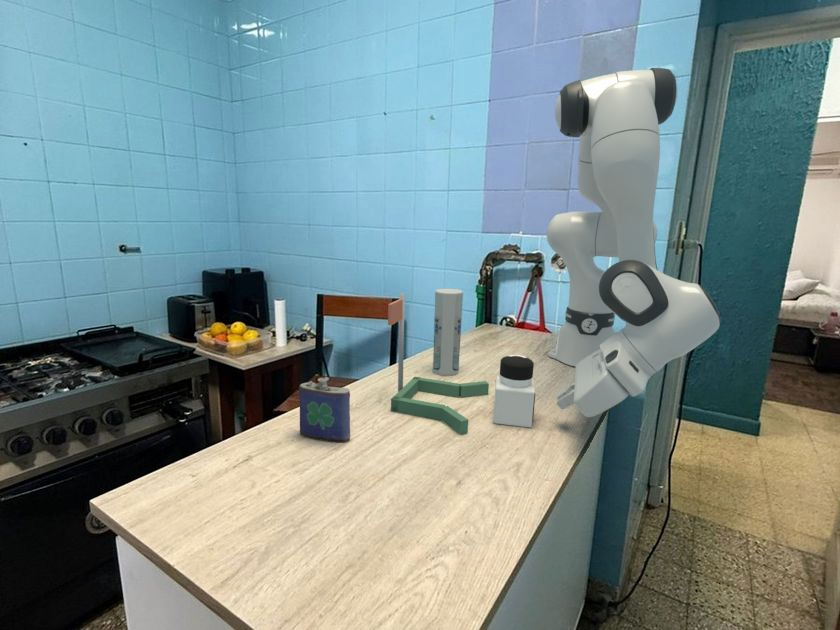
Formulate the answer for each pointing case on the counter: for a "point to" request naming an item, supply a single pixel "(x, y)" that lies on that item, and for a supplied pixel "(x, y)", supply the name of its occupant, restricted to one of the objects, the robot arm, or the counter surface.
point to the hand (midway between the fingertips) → (559, 403)
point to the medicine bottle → (515, 392)
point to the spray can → (447, 331)
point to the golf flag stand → (428, 385)
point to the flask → (324, 411)
